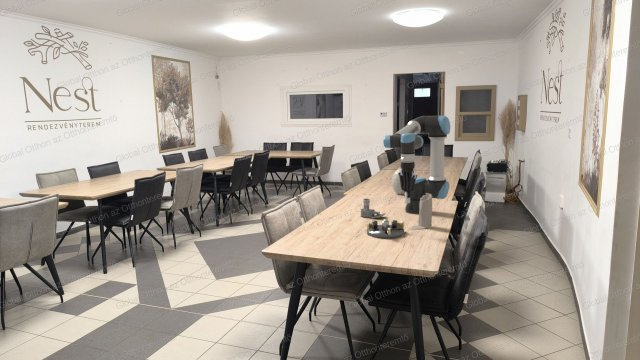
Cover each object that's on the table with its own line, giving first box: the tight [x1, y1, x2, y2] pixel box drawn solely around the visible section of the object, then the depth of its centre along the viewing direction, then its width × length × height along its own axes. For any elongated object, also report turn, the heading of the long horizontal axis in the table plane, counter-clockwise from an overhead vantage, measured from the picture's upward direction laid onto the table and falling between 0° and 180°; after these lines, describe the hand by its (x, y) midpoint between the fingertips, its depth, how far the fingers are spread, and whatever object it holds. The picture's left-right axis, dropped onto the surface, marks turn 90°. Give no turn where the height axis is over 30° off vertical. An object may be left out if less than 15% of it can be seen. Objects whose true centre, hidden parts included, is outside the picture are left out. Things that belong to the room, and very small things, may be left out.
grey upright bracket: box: [409, 193, 433, 230], centre depth 247 cm, size 7×14×20 cm, turn 112°
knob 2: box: [385, 224, 391, 235], centre depth 229 cm, size 8×3×4 cm, turn 1°
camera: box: [360, 198, 386, 219], centre depth 273 cm, size 9×12×15 cm
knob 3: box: [391, 219, 405, 229], centre depth 240 cm, size 8×3×4 cm, turn 48°
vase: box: [391, 166, 404, 196], centre depth 345 cm, size 16×16×22 cm
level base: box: [366, 218, 405, 240], centre depth 238 cm, size 21×21×8 cm
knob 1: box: [366, 220, 379, 230], centre depth 239 cm, size 8×3×4 cm, turn 133°
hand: (407, 203), depth 236 cm, fingers closed
